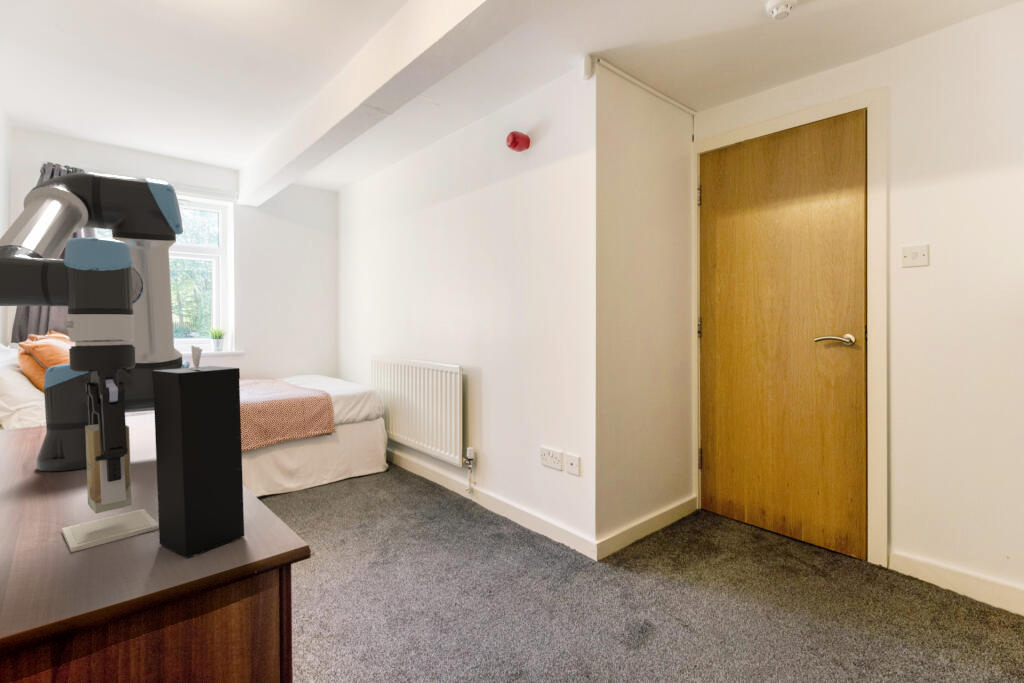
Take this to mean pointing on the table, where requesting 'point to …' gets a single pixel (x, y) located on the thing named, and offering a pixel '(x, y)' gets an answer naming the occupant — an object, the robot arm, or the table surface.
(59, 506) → the table surface
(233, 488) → the tissue box
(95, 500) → the skincare box
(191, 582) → the table surface
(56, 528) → the table surface
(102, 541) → the coaster
